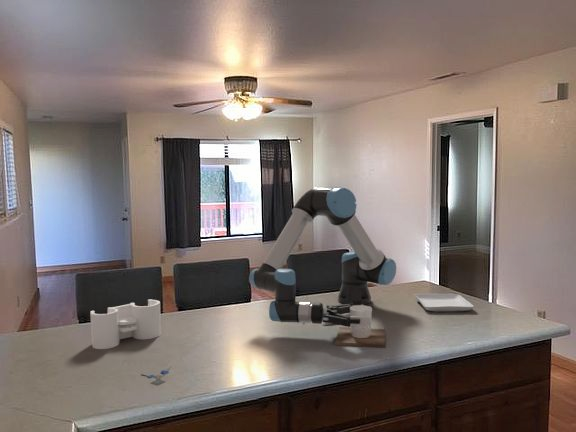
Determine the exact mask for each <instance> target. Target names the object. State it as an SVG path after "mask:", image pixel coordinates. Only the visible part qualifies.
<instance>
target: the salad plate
mask: <svg viewBox="0 0 576 432" xmlns="http://www.w3.org/2000/svg"><path fill="white" fill-rule="evenodd" d="M413 296H414V298H415V299H416V300H417V301H418V302H419V303H420V304H421V306H423V308H424V309H425V310H426V311H429V312H467V311H470V310H473V309H474V308H475V306H474V305H473V304H472V303H471V302H469V301H468V300H467V299H465V298H464V297H463V296H461V295H460V294H451V293H415V294H414V293H413Z"/></svg>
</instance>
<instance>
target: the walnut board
mask: <svg viewBox="0 0 576 432" xmlns="http://www.w3.org/2000/svg"><path fill="white" fill-rule="evenodd" d="M335 346H346V347H348V346H349V347H365V348H366V347H367V348H369V347H370V348H383V349H384V348H386V329H385V328H372V327H371V330H370V336H369V337H367V338H356V337H353V336H352V335H351V327H348V326H338V331H337V335H336V339H335Z"/></svg>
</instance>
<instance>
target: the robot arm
mask: <svg viewBox="0 0 576 432" xmlns="http://www.w3.org/2000/svg"><path fill="white" fill-rule="evenodd" d="M356 212H357V199H356V196H355V194H354V192H353V191H351V190H350V189H348V188H346V187H341V186H335V187H333V186H332V187H331V186H329V187H328V186H327V187H324V186H317V187H312V188H311V189H309V190H307V191H306V192H305V193H304V194H303V195H302V196H301V197H300V198H299V199H298V200H297V202H296V203H295V205H294V206H293V207H292V209H291V213H292V214H291V215H290V217H289V219H288V221H287V222H286V224H285V226H284V228H283V229H282V230H281V231H280V232H281V233H280V234H279V236H278V237H277V239H276V240H275V242H274V244H273V246H272V247H271V249H269V252H268V254H267V255H266V257H265V258H264V261H263V262H262V263H261V264H260V267H258V268H254V269H252V270H251V272H250V273H249V277H248V281H249V283H250V285H251V286H252V287H254V288H256V289H259V290H263V291H268V292H270V293H274V294H275V295H274V296H275V297H274V298H275V299H274V300H272V301H270V303H269V307H268V315H269V316H268V317H269V319H270V320H271V321H272V322H280V323H298V324H299V323H300V324H301V323H302V325H306V324H311V323H312V324H320V325H321V324H323V323H325V322H327V323H333V324H332V325H338V326H341V327H351V324H354V325H370V317H360V316H351V317H348V316H344V314H347V313H350V307H351V306H356V305H361V304H363V305H364V306H365V305H367V304H370V303H371V302H372V296H371V292H370V290H369V286H368V283H372V284H376V285H380V286H382V285H383V286H389V285H391V284H392V283H393V280H394V279H395V278H396V277H395V276H396V273H397V263H396V261H395V260H394V259H392V258H387V257H386V255H385V253H383V251H382V250H381V249H378V248H376V246H375V245H374V243H373V240H372V239H371V238H370V236H369V235H368V233H367V232H366V230H365V229H364V227H363V226H362V223H361V222H360V221H359V219H358V218H357V216H356ZM318 216H322V217H326V218H327V219H328V221H329V223H330V224H331V225H332V226H335V227H337V228H338V229H339V231H340V232H341V234H342V235H343V237H344V238H345V240H346V242H347V243H348V245H349V246H350V248H351V249H352V251H350V252H345V253H343V254H342V256H341V286H340V290H339V293H338V296H337V297H338V299H337V301H338V302H339V303H340V304H335V305H334V304H333V305H331V304H327V305H326V307H324V305H323V303H322V302H311V301H310V302H309V301H296V299H297V298H296V282H297V280H296V272H295V270H293V269H292V268H283V267H284V265H285V263H286V261H287V260H288V259H289V256H291V253H292V252H293V250H294V248H295V247H296V245H297V243H298V241H299V240H300V238H301V236H302V235H303V233H304V231H305V230H306V228H307V226H308V225H309V224H310V223H311V224H312V222H313V221H314V219H315V218H317V217H318ZM368 306H369V305H368ZM369 307H371V306H369ZM371 308H372V307H371Z"/></svg>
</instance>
